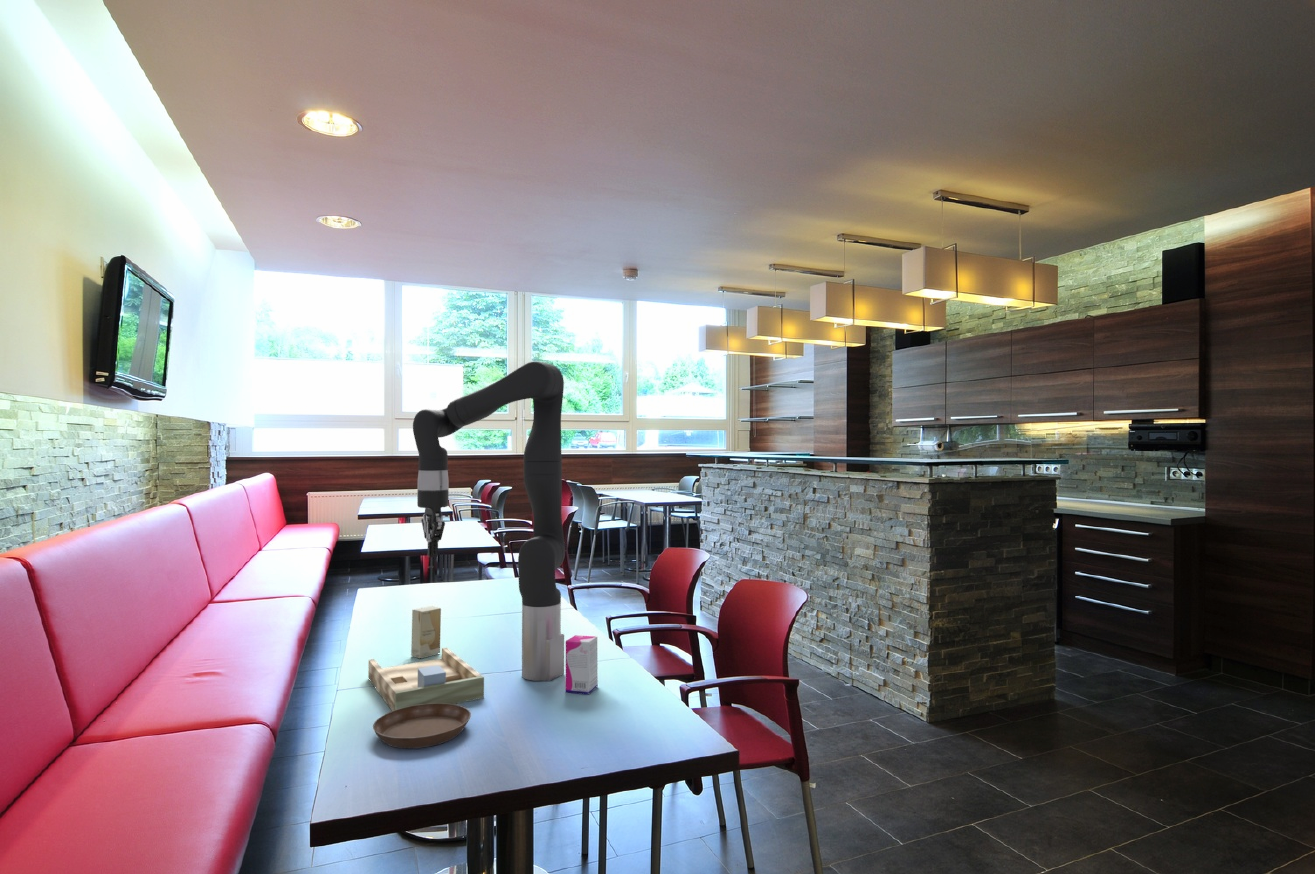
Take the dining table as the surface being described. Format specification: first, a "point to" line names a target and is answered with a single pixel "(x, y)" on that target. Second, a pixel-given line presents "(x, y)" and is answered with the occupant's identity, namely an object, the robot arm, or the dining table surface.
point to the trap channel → (403, 685)
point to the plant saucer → (421, 725)
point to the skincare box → (426, 631)
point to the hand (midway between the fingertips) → (432, 556)
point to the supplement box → (581, 664)
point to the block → (431, 676)
